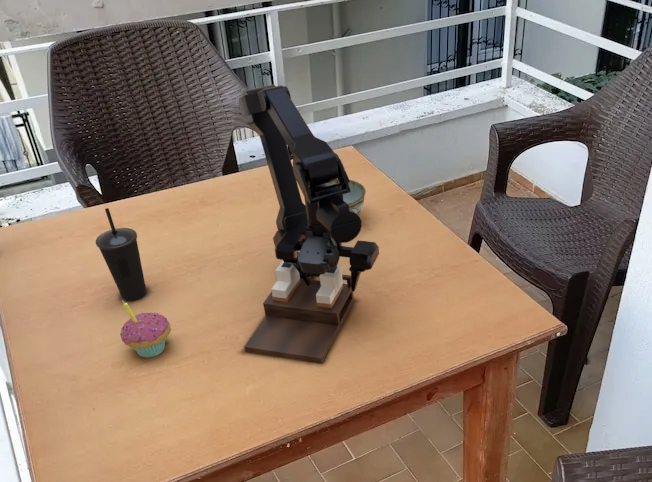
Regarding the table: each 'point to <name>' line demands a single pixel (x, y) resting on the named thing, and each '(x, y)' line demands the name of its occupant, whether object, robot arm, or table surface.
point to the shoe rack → (301, 323)
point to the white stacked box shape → (330, 287)
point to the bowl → (353, 195)
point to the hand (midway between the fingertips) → (331, 287)
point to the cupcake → (145, 332)
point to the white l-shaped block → (285, 282)
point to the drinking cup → (123, 260)
